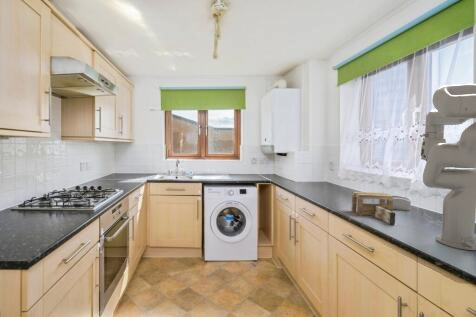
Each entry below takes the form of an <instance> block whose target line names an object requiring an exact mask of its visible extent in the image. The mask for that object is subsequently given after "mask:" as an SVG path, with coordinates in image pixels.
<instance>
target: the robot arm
mask: <svg viewBox="0 0 476 317" xmlns="http://www.w3.org/2000/svg"><path fill="white" fill-rule="evenodd" d="M432 104H433V107H434V108H435V109H432V110H430V111H429V112H428V113H427V114H426V116H425V127H424V129H425V130H424V133H423V134H422V136H423V137H424V138H423V139H422V143H421V148H420V156H421V159H420V160H423V161H426V163H425V166H424V169H423V174H422V183H423V184H424V186H426V187H428V188H433V189H440V190H450V191H449V192H448V193H447V194H446V195H445V196H444V197H443V202H442V214H441V216H442V218H441V232H440V233H441V234H438V235H436V237H435V239H436V241H437V242H438V243H440V244H442V245H445V246H448V247H452V248H456V249H460V250H466V251H476V237H475V227H476V226H475V225H476V121H475V122H473V123H471V124H470V125H468V127H466V128H465V129H464V130H463V131H462V132H461V135H460V137H459V140H458V141H457V142H447V141H446V138H444V136H445V126H459V125H461V124H463V123H465V122H467V121H469V119H476V83H474V84H473V83H465V84H452V85H450V84H449V85H448V84H447V85H443V86H442V85H441V87H438V88H437V89H436V90H435V92H434V93H433V95H432Z"/></svg>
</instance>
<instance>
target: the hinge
mask: <svg viewBox="0 0 476 317" xmlns="http://www.w3.org/2000/svg"><path fill="white" fill-rule="evenodd" d="M391 196H393V207H392V210H395V209H397V211H408V210H410V211H411V200H410V199H409V198H408V197H406V196H401V195H391ZM385 204H387V200H386V199H385Z"/></svg>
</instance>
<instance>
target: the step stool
mask: <svg viewBox="0 0 476 317" xmlns="http://www.w3.org/2000/svg"><path fill="white" fill-rule="evenodd" d="M351 193H352V194H351V197H352V198H351V212H353V213H356V215H357V216H358V217H363V215H369V216H370V215H371V216H372V215H373V216H375V206H379V207H382V208H384V209H387V210H389V211H391V212H393V209H392V207H393V196H392V195H391V194H388V193H385V192H376V191H375V192H374V191H372V192H371V191H352V192H351ZM364 199H367V200H379V203H365V202H364V203H363V200H364ZM385 199H386V200H387V204H385Z"/></svg>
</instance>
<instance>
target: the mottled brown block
mask: <svg viewBox="0 0 476 317" xmlns="http://www.w3.org/2000/svg"><path fill="white" fill-rule="evenodd" d="M374 217H375V218H377V219H378V220H381V221H383V222H385V223H387V224H389V225H391V226H392V225H394V226H395V225H396V212H393V211H392V212H391V211H389V210H387V209H384V208H382V207H379V206H375V215H374Z"/></svg>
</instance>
